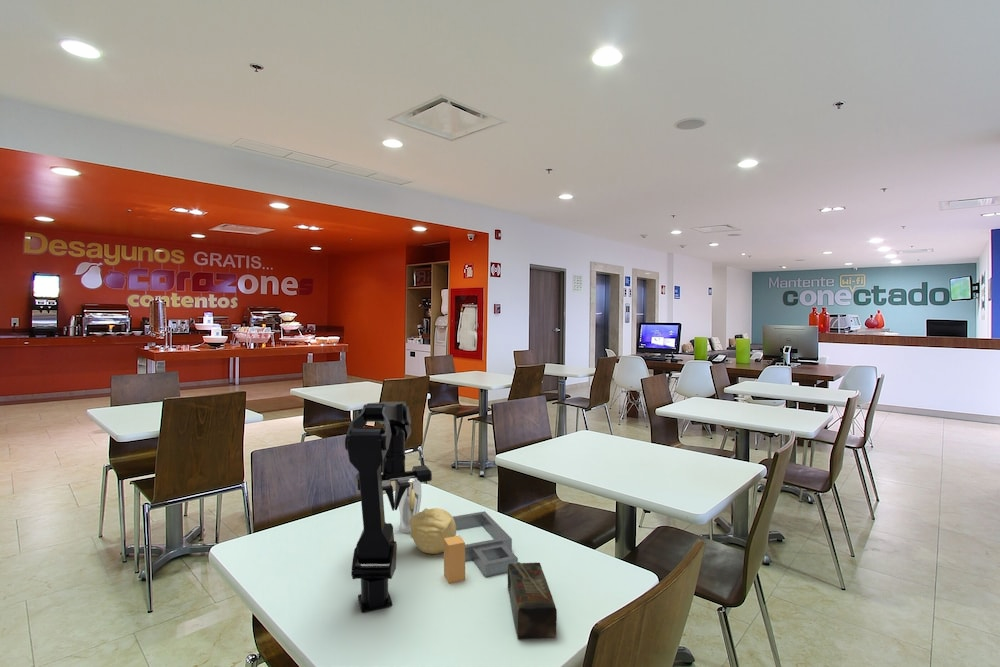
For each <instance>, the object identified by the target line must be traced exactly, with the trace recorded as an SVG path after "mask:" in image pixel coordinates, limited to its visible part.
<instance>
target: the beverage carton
mask: <svg viewBox="0 0 1000 667" xmlns="http://www.w3.org/2000/svg"><path fill="white" fill-rule="evenodd" d="M542 567H543V566H542V564H541V562H520V561H518V562H515V563H511V564H508V572H507V592H508V594H509V596H508V597H509V600H510V606H511V607H510V608H511V612H512V618H513V623H514V628H515V632H516V636H517V639H518V640H519V639H523V640H524V639H525V640H526V639H549V638H550V639H551V638H552V639H554V638H556V636H557V620H558V618H557V616H558V613H557V612H558V611H557V610H558V609H557V607H556V604H555V601H554V598H553V595H552V593H551V590H550V587H549V584H548V581H547V579H546V576H545V574H544V570H543V568H542Z"/></svg>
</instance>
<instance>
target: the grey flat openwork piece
mask: <svg viewBox="0 0 1000 667" xmlns="http://www.w3.org/2000/svg"><path fill="white" fill-rule="evenodd" d="M452 517H453V519H454V521H455V524H456V531H459V530H465V529H470V528H471V529H472V528H476V527H483V528H484V529H485V531H486V532H487V533H488V535H490V536H491V537H492V538H493V539H490V540H489V539H488V540H484V541H477V542H473V543H467V544H466V543H465V562H468V561H472V562H473V563H474V564H475V565H476V566H477V568H478V570H479V571H480V572H481V574H482V575H483V577H484V578H487V577H493V576H498V575H503V574H506V573H507V574H508V564H511V563H515V562H519V560H518V559H519V558H518V556H516V554H515V553H514V552H513V538H512V537H511V536H510V535H509V534H508V533H507V532H506V531H505V530H504V529H503V528H502V527H501V526H500V525H499V524H498V523H497V522H496V521H495V520H494V519H493V518H492V517H491V516H490V514H488V513H487V512H486V511H478V512H471V513H468V514H467V513H466V514H460V515H454V516H453V515H452Z"/></svg>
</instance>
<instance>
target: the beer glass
mask: <svg viewBox="0 0 1000 667" xmlns="http://www.w3.org/2000/svg"><path fill="white" fill-rule="evenodd" d="M409 483H410V487H407V488H406V490H405V492H404V494H403V496H402V498H401V500H400V503H399V506H398V510H399V517H400V521H399V526H398V527H399V528H398V531H399V532H400V533H403V534H411V529H410V523H411V518H412V516H413V515H415V514H417V513H419V512H420V508H421V502H422V482H420V481H418V480H417V478H411V479H410V480H409Z"/></svg>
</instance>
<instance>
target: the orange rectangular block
mask: <svg viewBox="0 0 1000 667" xmlns="http://www.w3.org/2000/svg"><path fill="white" fill-rule="evenodd" d="M465 545H466V541H465V540H464V539H463V538H462V537H461V535H456V536H454V537H449V538H444V552H443V576H444V578H445V579H446V581H447V583H448V584H454V583H458V582H462V581H466V561H465Z"/></svg>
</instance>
